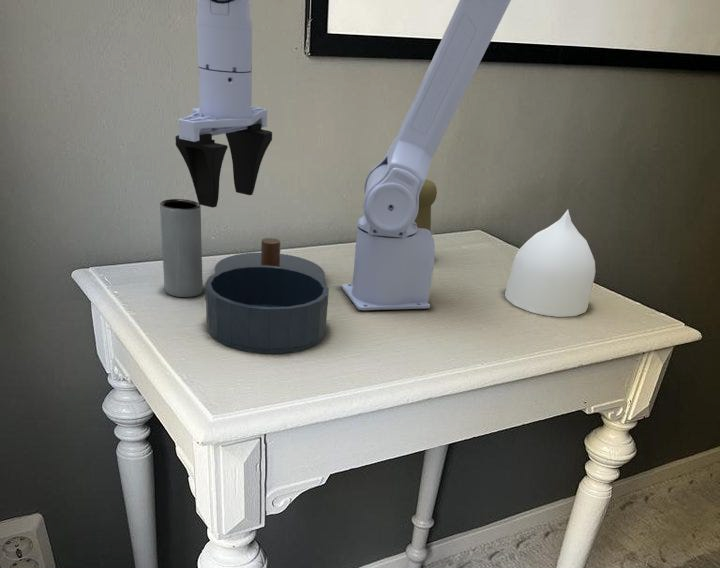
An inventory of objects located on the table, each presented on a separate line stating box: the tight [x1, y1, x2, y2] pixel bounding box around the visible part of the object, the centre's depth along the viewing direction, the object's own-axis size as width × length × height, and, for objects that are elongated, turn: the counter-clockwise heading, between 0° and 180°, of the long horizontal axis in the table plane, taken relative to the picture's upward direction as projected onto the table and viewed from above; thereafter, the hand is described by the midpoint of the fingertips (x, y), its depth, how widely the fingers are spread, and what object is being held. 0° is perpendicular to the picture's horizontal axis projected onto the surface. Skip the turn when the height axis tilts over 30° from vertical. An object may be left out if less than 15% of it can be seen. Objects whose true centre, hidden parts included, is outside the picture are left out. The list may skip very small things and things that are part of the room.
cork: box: [414, 178, 438, 233], centre depth 106 cm, size 6×6×11 cm
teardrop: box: [504, 209, 596, 318], centre depth 95 cm, size 11×11×12 cm
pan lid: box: [214, 237, 326, 282], centre depth 95 cm, size 14×14×5 cm
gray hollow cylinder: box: [159, 198, 204, 298], centre depth 87 cm, size 4×4×10 cm
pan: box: [204, 265, 330, 355], centre depth 81 cm, size 13×13×5 cm
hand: (226, 199), depth 87 cm, fingers open, 7 cm apart
